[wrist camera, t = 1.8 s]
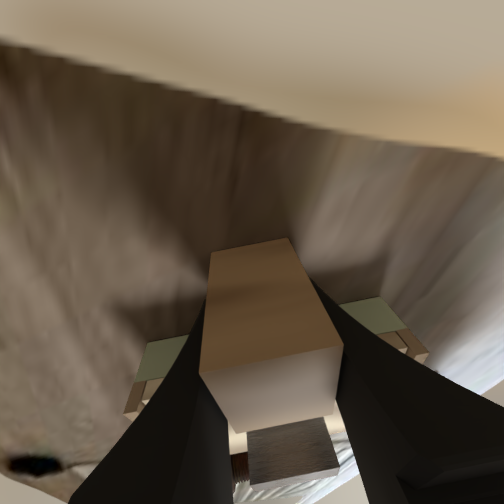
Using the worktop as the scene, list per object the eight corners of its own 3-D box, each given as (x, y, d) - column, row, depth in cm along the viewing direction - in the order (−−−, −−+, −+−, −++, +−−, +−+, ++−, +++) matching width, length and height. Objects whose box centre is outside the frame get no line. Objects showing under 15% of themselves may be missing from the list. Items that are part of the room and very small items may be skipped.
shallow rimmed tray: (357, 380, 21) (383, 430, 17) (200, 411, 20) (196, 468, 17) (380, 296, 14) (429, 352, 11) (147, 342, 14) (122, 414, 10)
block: (292, 303, 13) (333, 414, 8) (231, 315, 13) (236, 433, 8) (287, 237, 11) (343, 344, 6) (211, 252, 11) (199, 373, 6)
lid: (364, 412, 18) (395, 477, 15) (206, 444, 18) (202, 516, 15) (394, 331, 12) (461, 415, 8) (147, 380, 12) (116, 485, 8)
